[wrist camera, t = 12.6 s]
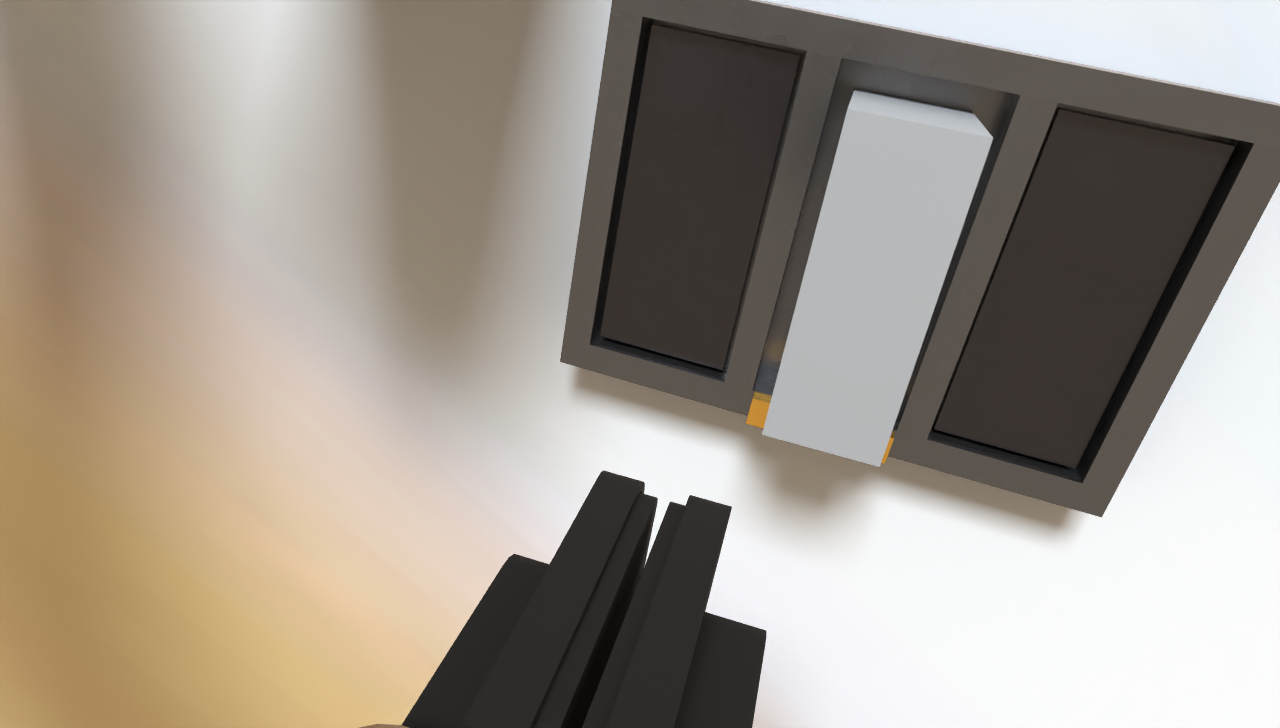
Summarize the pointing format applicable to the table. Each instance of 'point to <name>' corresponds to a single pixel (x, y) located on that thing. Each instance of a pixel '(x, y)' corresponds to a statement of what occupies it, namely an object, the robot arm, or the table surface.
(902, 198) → the rectangular block
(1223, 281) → the rack
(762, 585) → the table surface
